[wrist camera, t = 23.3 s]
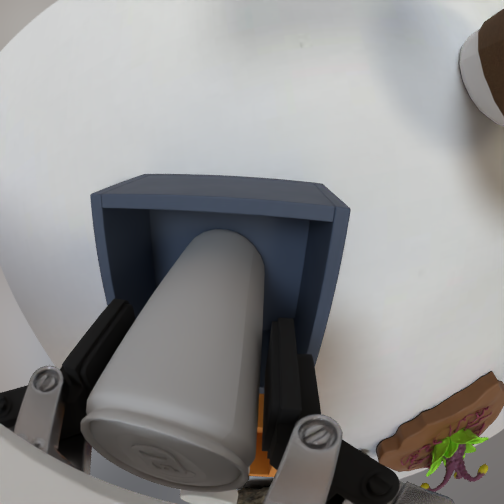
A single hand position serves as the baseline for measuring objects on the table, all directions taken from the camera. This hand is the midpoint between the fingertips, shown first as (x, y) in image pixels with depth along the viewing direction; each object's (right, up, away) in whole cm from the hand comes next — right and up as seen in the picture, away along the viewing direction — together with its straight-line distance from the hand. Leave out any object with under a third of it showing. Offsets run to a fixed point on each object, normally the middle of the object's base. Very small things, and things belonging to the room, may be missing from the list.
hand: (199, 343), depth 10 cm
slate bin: (0, +3, +7) cm, 7 cm away
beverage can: (0, +3, +6) cm, 7 cm away
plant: (+29, -20, +15) cm, 39 cm away
